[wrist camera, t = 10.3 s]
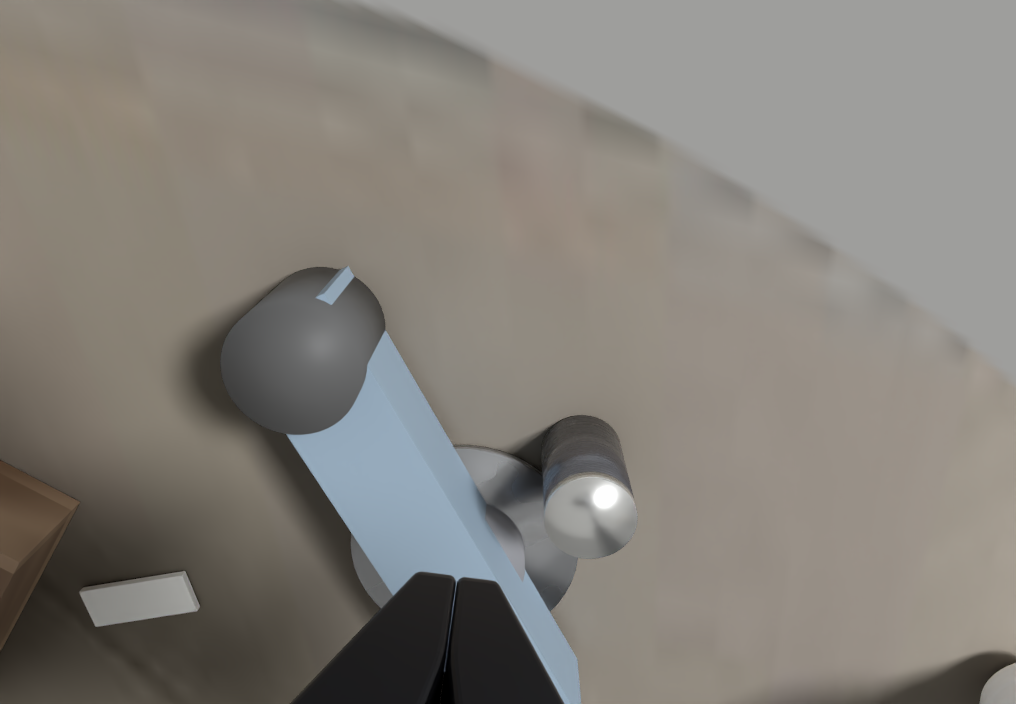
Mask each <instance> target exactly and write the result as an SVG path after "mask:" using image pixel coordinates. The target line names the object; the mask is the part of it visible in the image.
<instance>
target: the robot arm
mask: <svg viewBox="0 0 1016 704" xmlns="http://www.w3.org/2000/svg"><path fill="white" fill-rule="evenodd" d="M455 588H456V592H455ZM454 596H455V599H454ZM453 603H454V606H453ZM452 611H453V613H452ZM451 618H452V620H451ZM450 626H451V627H450ZM449 633H450V635H449ZM448 641H449V642H448ZM447 648H448V649H447ZM446 655H447V656H446ZM445 662H446V663H445ZM444 670H445V671H444ZM443 677H444V678H443ZM442 684H443V686H442ZM441 691H442V693H441ZM440 698H441V700H440ZM290 704H564V702H563V700H562V698H561V696H560V695H559V693H558V691H557V689H556V687H555V685H554V684H553V682H552V680H551V678H550V676H549V674H548V673H547V671H546V669H545V667H544V665H543V664H542V662H541V660H540V658H539V656H538V654H537V653H536V651H535V649H534V647H533V645H532V643H531V642H530V640H529V638H528V636H527V634H526V632H525V631H524V629H523V627H522V625H521V623H520V621H519V620H518V618H517V616H516V614H515V612H514V611H513V609H512V607H511V605H510V603H509V601H508V600H507V598H506V596H505V594H504V592H503V590H502V589H501V587H500V585H499V584H498V583H497V582H496V581H492V580H485V579H477V578H469V577H462V578H460V579H459V580H458V581H457V585H456V580H455V578H454V577H453V576H451V575H446V574H438V573H431V572H423V571H422V572H417V573H415V574H414V575H413V576H412V577H411V578H410V579H409V580H408V581H407V582H406V583H405V584H404V585H403V586H402V587H401V588H400V589H399V590H398V591H397V592H396V594H395V595H394V596H393V597H392V598H391V599H390V600H389V601H388V602H387V603H386V604H385V605H384V606H383V607H382V608H381V609H380V610H379V611H378V612H377V613H376V614H375V615H374V616H373V618H372V619H371V620H370V621H369V622H368V623H367V624H366V625H365V626H364V627H363V628H362V629H361V630H360V631H359V632H358V633H357V634H356V635H355V636H354V637H353V638H352V639H351V640H350V642H349V643H348V644H347V645H346V646H345V647H344V648H343V649H342V650H341V651H340V652H339V653H338V654H337V655H336V656H335V657H334V658H333V659H332V660H331V661H330V662H329V663H328V664H327V666H326V667H325V668H324V669H323V670H322V671H321V672H320V673H319V674H318V675H317V676H316V677H315V678H314V679H313V680H312V681H311V682H310V683H309V684H308V685H307V686H306V687H305V688H304V690H303V691H302V692H301V693H300V694H299V695H298V696H297V697H296V698H295V699H294V700H293V701H292V702H291V703H290Z"/></svg>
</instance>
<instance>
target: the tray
mask: <svg viewBox="0 0 1016 704" xmlns="http://www.w3.org/2000/svg"><path fill="white" fill-rule="evenodd" d="M79 503H80V502H79V501H77V500H75V499H73V498H71V497H70V496H68V495H66V494H64V493H62V492H60V491H58V490H56V489H54V488H52V487H50V486H49V485H47V484H45V483H43V482H41V481H39V480H37V479H35V478H33V477H31V476H29V475H28V474H26V473H24V472H22V471H20V470H18V469H16V468H14V467H12V466H10V465H8V464H6V463H5V462H3V461H1V460H0V652H1V650H2V648H3V646H4V644H5V642H6V640H7V638H8V637H9V635H10V633H11V631H12V629H13V627H14V625H15V623H16V622H17V620H18V618H19V616H20V614H21V612H22V610H23V608H24V607H25V605H26V603H27V601H28V599H29V597H30V595H31V593H32V592H33V590H34V588H35V586H36V584H37V582H38V580H39V578H40V577H41V575H42V573H43V571H44V569H45V567H46V565H47V563H48V562H49V560H50V558H51V556H52V554H53V552H54V550H55V548H56V547H57V545H58V543H59V541H60V539H61V537H62V535H63V533H64V532H65V530H66V528H67V526H68V524H69V522H70V520H71V518H72V517H73V515H74V513H75V511H76V509H77V507H78V505H79Z"/></svg>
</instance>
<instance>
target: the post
mask: <svg viewBox="0 0 1016 704" xmlns="http://www.w3.org/2000/svg"><path fill="white" fill-rule="evenodd" d="M542 478H543V503H544V524H545V529H546V532H547V534H548V536H549V538H550V540H551V541H552V542H553V543H554V545H555V546H557V547H558V548H559V549H560V550H562V551H563V552H565V553H567V554H569V555H571V556H574V557H578V558H584V559H595V558H601V557H605V556H608V555H611V554H613V553H615V552H617V551H618V550H620V549H621V548H623V547H624V546H625V545H626V544H627V543H628V542H629V540H630V539H631V538H632V536H633V534H634V532H635V530H636V526H637V519H638V516H637V510H636V506H635V502H634V497H633V493H632V489H631V485H630V481H629V477H628V473H627V469H626V465H625V461H624V457H623V453H622V449H621V445H620V441H619V438H618V436H617V434H616V432H615V431H614V430H613V428H612V427H611V426H610V425H609V424H607V423H606V422H604V421H603V420H601V419H598V418H596V417H592V416H586V415H578V416H572V417H568V418H566V419H563V420H561V421H559V422H558V423H556V424H555V425H554V426H553V427H552V428H551V429H550V430H549V431H548V433H547V434H546V436H545V438H544V440H543V443H542Z"/></svg>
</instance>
